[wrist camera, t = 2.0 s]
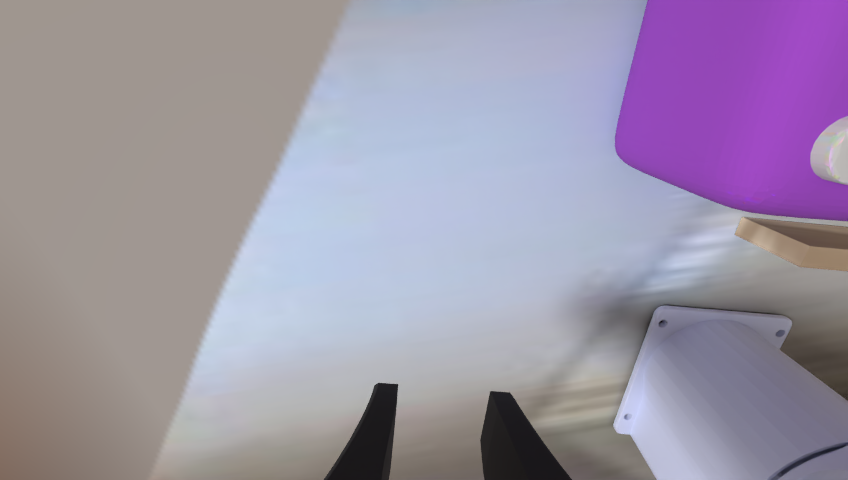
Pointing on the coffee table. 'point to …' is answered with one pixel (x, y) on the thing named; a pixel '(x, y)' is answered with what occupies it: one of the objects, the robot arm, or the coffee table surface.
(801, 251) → the wooden tray
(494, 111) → the coffee table surface
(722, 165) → the toy camera
